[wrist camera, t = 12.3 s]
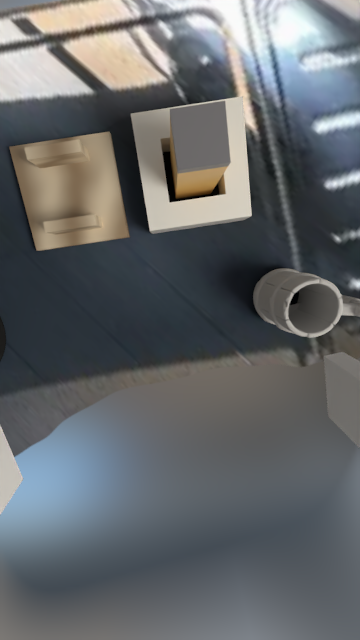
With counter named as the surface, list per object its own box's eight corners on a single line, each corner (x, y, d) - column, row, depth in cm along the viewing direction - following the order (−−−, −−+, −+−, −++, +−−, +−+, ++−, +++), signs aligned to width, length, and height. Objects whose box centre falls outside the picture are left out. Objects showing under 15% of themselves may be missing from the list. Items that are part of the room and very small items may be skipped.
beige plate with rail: (39, 250, 35) (23, 250, 32) (13, 149, 32) (-8, 135, 29) (129, 237, 35) (124, 235, 31) (110, 134, 32) (103, 118, 29)
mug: (253, 266, 37) (291, 271, 25) (338, 270, 37) (414, 277, 25) (247, 320, 38) (280, 349, 27) (328, 323, 39) (395, 353, 27)
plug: (175, 199, 34) (177, 170, 23) (170, 160, 33) (169, 109, 22) (210, 193, 34) (230, 162, 23) (206, 154, 33) (225, 100, 22)
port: (152, 233, 35) (149, 231, 31) (135, 130, 32) (130, 113, 28) (242, 220, 35) (251, 215, 31) (234, 115, 32) (242, 96, 28)
